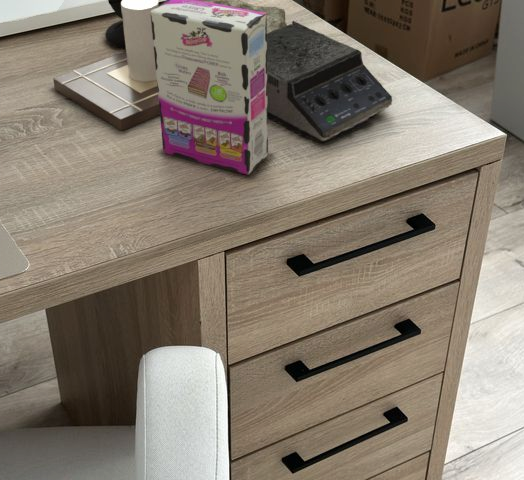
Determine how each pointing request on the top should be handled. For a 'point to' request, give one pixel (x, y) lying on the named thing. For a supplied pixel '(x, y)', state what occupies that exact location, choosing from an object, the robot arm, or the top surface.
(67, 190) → the top surface
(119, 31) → the webcam
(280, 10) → the rock
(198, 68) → the candy bar box
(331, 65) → the electronic device
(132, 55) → the white cylinder
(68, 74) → the grid board
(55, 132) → the top surface
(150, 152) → the top surface
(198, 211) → the top surface
